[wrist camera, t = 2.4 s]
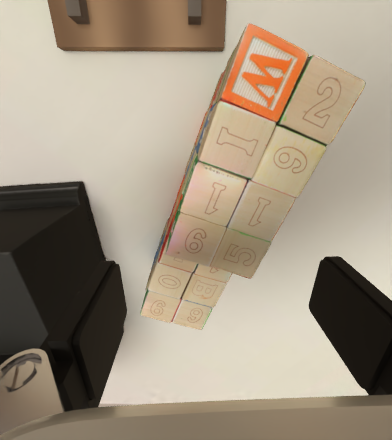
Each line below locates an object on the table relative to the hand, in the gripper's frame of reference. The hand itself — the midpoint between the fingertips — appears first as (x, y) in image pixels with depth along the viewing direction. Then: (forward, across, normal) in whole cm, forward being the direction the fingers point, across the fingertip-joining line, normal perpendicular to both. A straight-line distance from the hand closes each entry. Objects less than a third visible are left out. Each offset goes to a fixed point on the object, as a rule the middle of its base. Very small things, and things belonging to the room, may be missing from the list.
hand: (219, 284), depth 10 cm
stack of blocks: (+16, -1, 0) cm, 16 cm away
